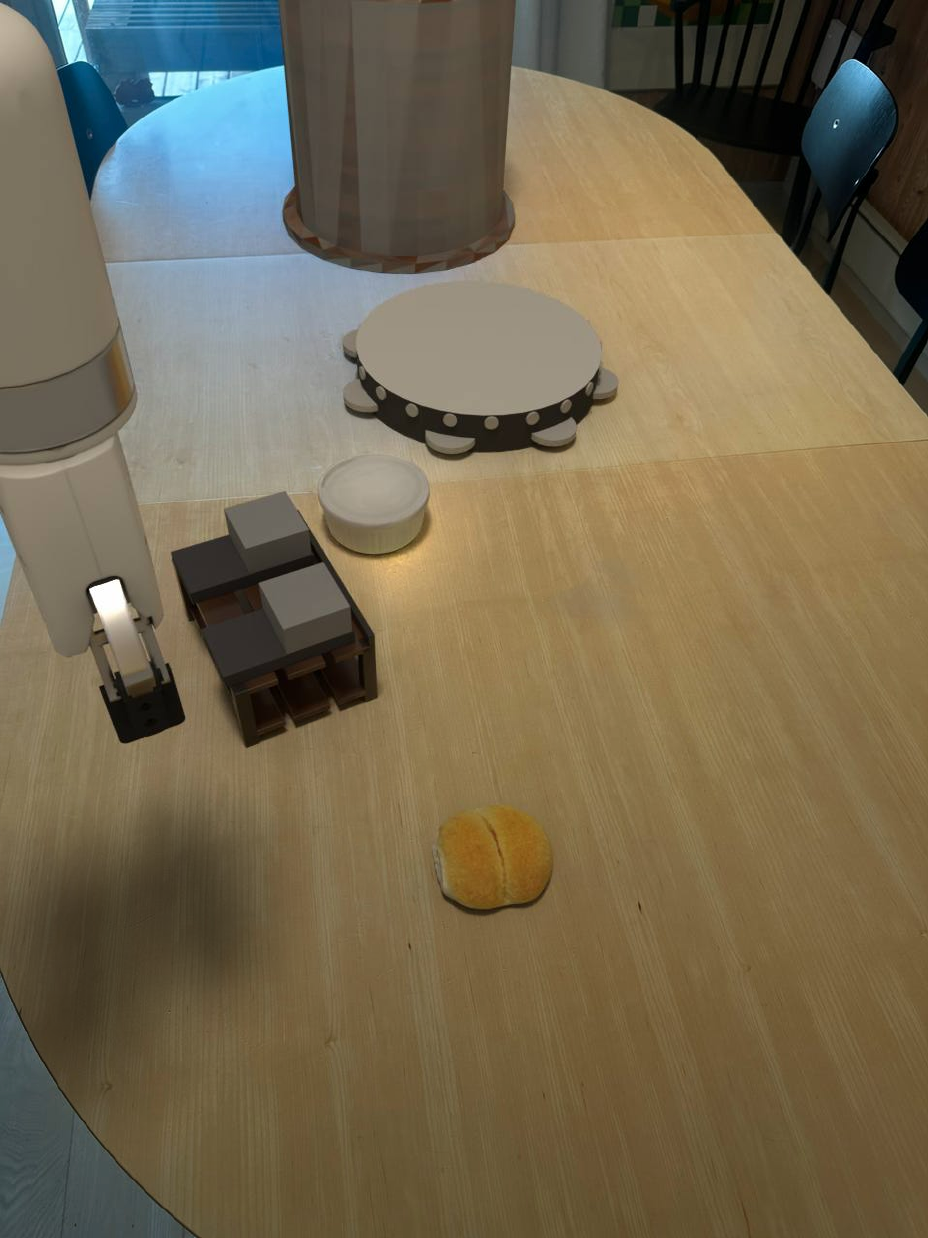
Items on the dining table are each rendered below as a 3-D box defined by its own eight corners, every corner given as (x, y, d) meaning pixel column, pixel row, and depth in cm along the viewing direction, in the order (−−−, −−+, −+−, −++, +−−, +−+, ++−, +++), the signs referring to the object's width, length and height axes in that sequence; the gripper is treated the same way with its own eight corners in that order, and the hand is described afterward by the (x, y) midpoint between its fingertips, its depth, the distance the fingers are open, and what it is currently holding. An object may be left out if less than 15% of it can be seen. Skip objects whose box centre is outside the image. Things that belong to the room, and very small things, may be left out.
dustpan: (225, 688, 76) (217, 652, 72) (203, 640, 79) (194, 603, 76) (355, 642, 79) (352, 605, 76) (329, 597, 83) (325, 560, 79)
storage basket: (521, 176, 158) (540, -60, 134) (507, 283, 134) (527, 19, 111) (309, 159, 159) (290, -78, 135) (258, 262, 136) (225, -4, 112)
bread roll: (564, 900, 72) (570, 874, 69) (446, 923, 71) (448, 898, 68) (534, 805, 78) (539, 778, 75) (424, 825, 76) (425, 798, 73)
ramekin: (358, 477, 105) (356, 438, 101) (449, 512, 101) (450, 473, 98) (298, 538, 98) (294, 498, 94) (393, 578, 95) (392, 538, 91)
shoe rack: (246, 748, 81) (232, 685, 74) (185, 613, 90) (168, 548, 84) (377, 697, 85) (375, 634, 78) (305, 573, 95) (298, 509, 88)
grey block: (192, 605, 82) (183, 567, 78) (173, 563, 85) (163, 525, 82) (315, 565, 85) (311, 528, 82) (292, 527, 89) (287, 489, 85)
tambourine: (620, 323, 128) (626, 288, 124) (610, 481, 106) (617, 444, 102) (367, 295, 131) (365, 260, 127) (304, 444, 108) (301, 406, 105)
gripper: (-104, 291, 41) (18, 576, 54) (-37, 541, 31) (93, 820, 44) (76, 256, 44) (152, 536, 56) (192, 478, 34) (252, 759, 46)
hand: (126, 660), depth 50 cm, fingers open, 9 cm apart
